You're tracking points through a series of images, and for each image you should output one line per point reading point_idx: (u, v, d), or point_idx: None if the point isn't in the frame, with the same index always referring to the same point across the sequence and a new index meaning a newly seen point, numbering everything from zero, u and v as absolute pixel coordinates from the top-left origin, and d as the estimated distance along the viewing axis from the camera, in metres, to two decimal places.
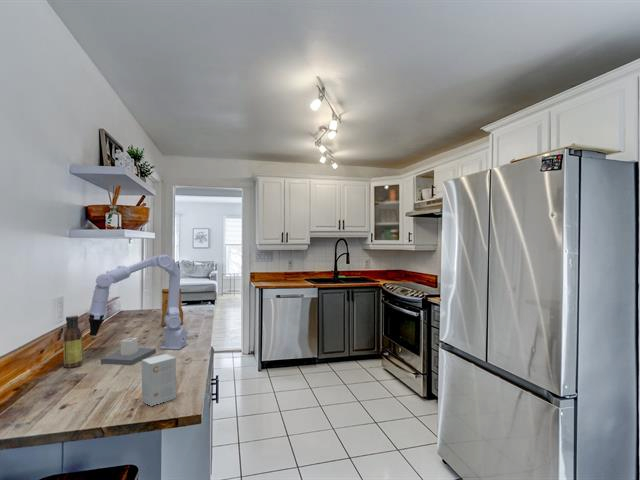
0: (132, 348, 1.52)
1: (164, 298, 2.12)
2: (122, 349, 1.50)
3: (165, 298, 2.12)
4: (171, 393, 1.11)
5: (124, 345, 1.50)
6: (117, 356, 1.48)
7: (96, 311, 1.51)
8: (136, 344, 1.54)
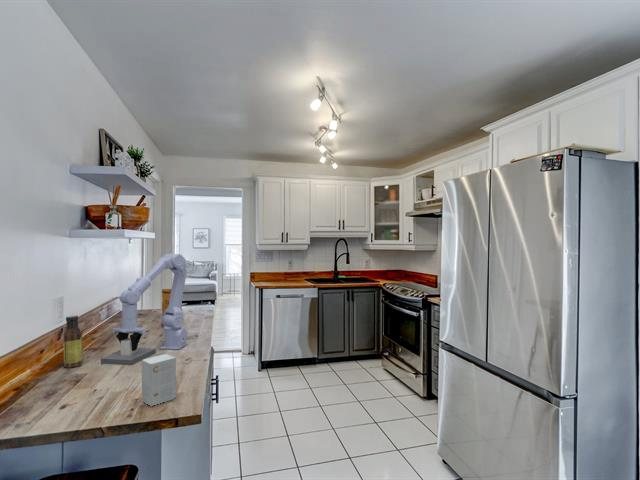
0: None
1: (164, 298, 2.12)
2: (122, 349, 1.50)
3: (165, 298, 2.12)
4: (171, 393, 1.11)
5: (124, 345, 1.50)
6: (117, 356, 1.48)
7: (134, 327, 1.52)
8: None
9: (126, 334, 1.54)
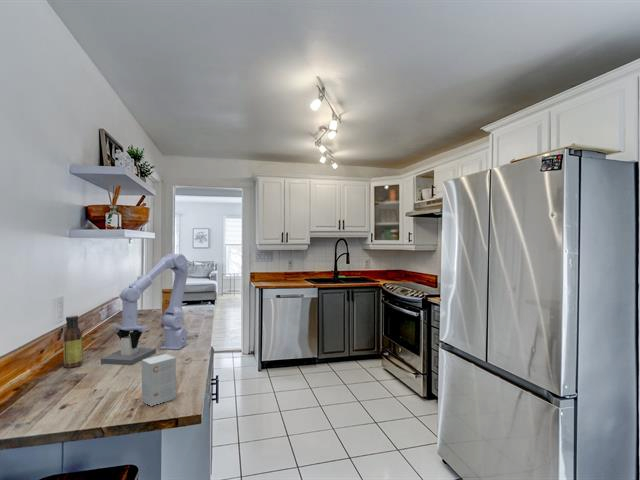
0: None
1: (164, 298, 2.12)
2: (122, 346, 1.50)
3: (165, 298, 2.12)
4: (171, 393, 1.11)
5: (124, 342, 1.50)
6: (117, 356, 1.48)
7: (134, 325, 1.52)
8: None
9: (127, 332, 1.54)
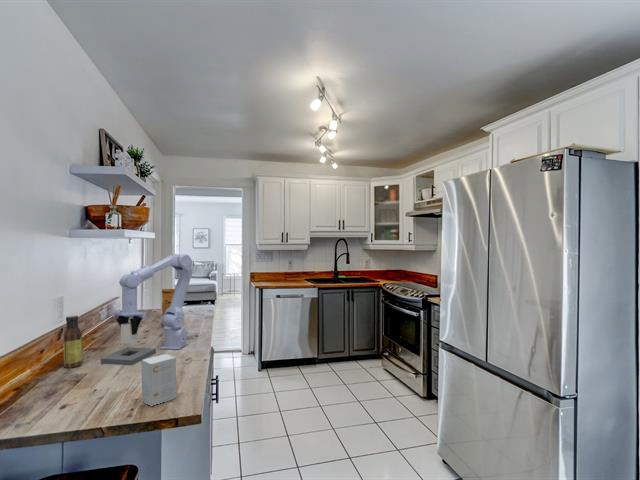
0: None
1: (164, 298, 2.12)
2: (122, 333, 1.50)
3: (165, 298, 2.12)
4: (171, 393, 1.11)
5: (124, 329, 1.50)
6: (117, 356, 1.48)
7: (134, 311, 1.52)
8: None
9: (126, 318, 1.54)
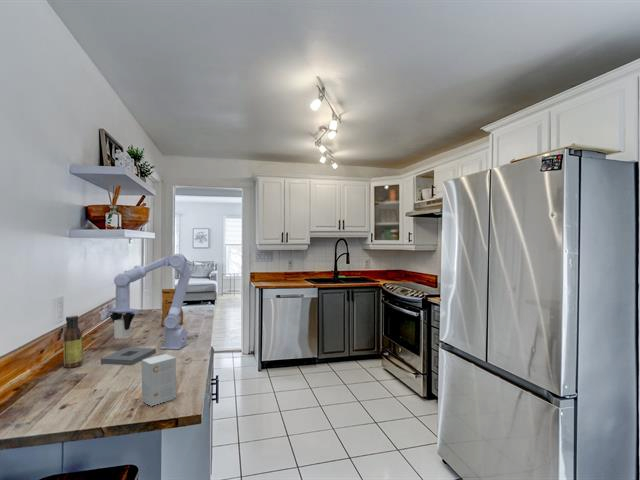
0: None
1: (164, 298, 2.12)
2: (115, 328, 1.61)
3: (165, 298, 2.12)
4: (171, 393, 1.11)
5: (117, 324, 1.61)
6: (117, 356, 1.48)
7: (127, 308, 1.63)
8: None
9: (119, 314, 1.65)
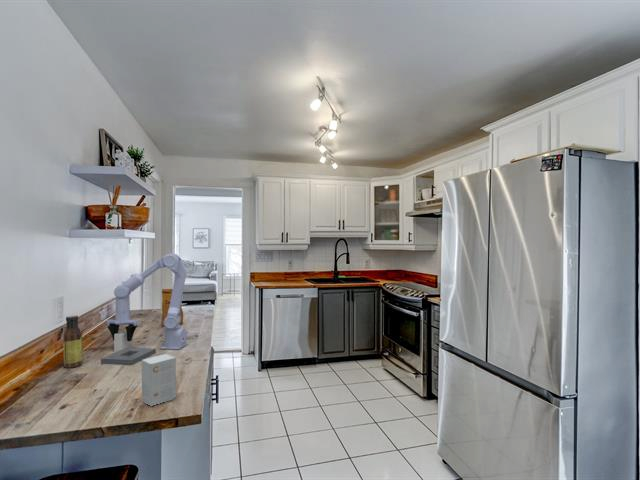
0: (125, 340, 1.63)
1: (164, 298, 2.12)
2: (115, 342, 1.61)
3: (165, 298, 2.12)
4: (171, 393, 1.11)
5: (117, 338, 1.61)
6: (117, 356, 1.48)
7: (127, 319, 1.63)
8: None
9: (117, 326, 1.66)
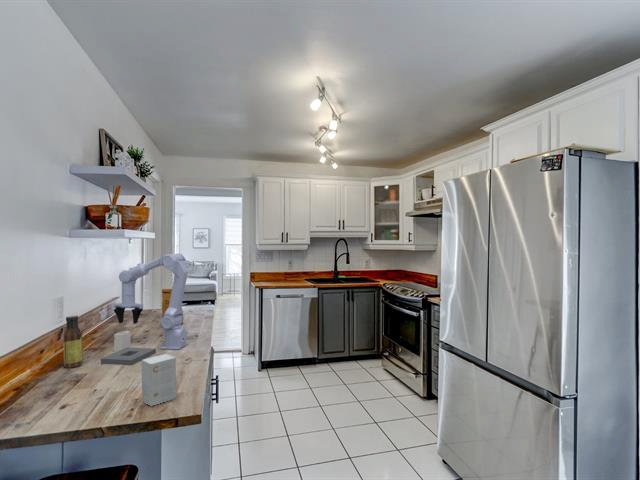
0: (125, 340, 1.63)
1: (164, 298, 2.12)
2: (115, 342, 1.61)
3: (165, 298, 2.12)
4: (171, 393, 1.11)
5: (117, 338, 1.61)
6: (117, 356, 1.48)
7: (132, 303, 1.72)
8: (129, 337, 1.65)
9: (122, 309, 1.74)
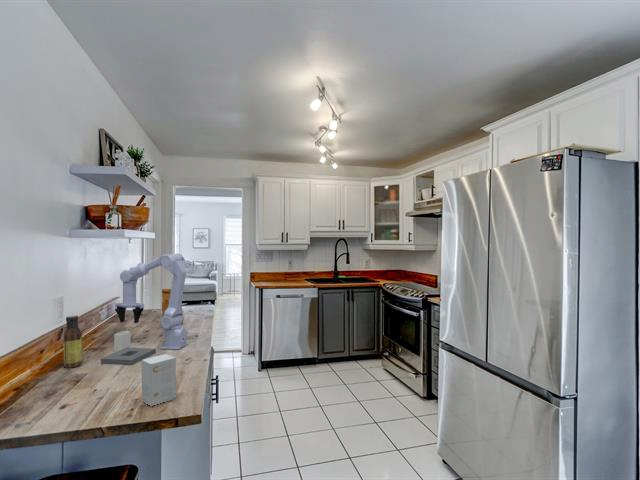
0: (125, 340, 1.63)
1: (164, 298, 2.12)
2: (115, 342, 1.61)
3: (165, 298, 2.12)
4: (171, 393, 1.11)
5: (117, 338, 1.61)
6: (117, 356, 1.48)
7: (133, 302, 1.74)
8: (129, 337, 1.65)
9: (123, 308, 1.76)
